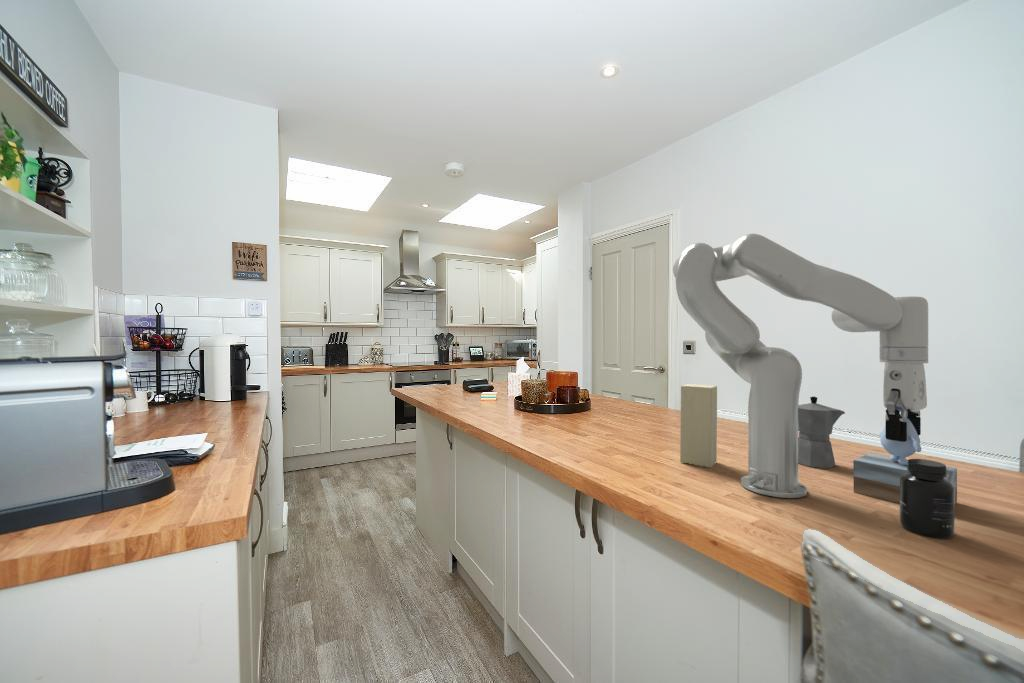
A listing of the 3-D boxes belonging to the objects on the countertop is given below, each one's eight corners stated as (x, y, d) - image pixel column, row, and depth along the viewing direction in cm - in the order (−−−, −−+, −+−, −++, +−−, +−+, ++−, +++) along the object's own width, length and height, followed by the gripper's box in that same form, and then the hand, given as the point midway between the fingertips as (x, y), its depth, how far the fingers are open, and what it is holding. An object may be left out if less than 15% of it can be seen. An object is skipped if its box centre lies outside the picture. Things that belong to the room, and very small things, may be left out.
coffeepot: (847, 464, 111) (847, 397, 111) (842, 472, 104) (841, 401, 104) (780, 453, 122) (780, 392, 122) (771, 460, 116) (771, 395, 115)
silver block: (944, 514, 80) (944, 477, 80) (853, 492, 91) (853, 460, 91) (956, 502, 85) (956, 468, 85) (870, 483, 97) (869, 453, 97)
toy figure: (937, 472, 83) (938, 412, 83) (903, 471, 84) (903, 412, 83) (896, 455, 94) (896, 402, 93) (865, 455, 94) (865, 402, 94)
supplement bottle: (889, 522, 76) (888, 457, 76) (923, 521, 77) (923, 456, 77) (929, 541, 69) (929, 468, 69) (966, 539, 70) (966, 467, 70)
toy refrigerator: (718, 461, 115) (717, 385, 114) (711, 468, 109) (711, 387, 109) (687, 456, 120) (687, 383, 119) (680, 462, 114) (679, 385, 114)
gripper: (915, 357, 80) (915, 447, 80) (939, 355, 90) (939, 435, 90) (865, 356, 86) (866, 439, 87) (893, 354, 96) (893, 429, 96)
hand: (903, 437), depth 88 cm, fingers open, 9 cm apart
